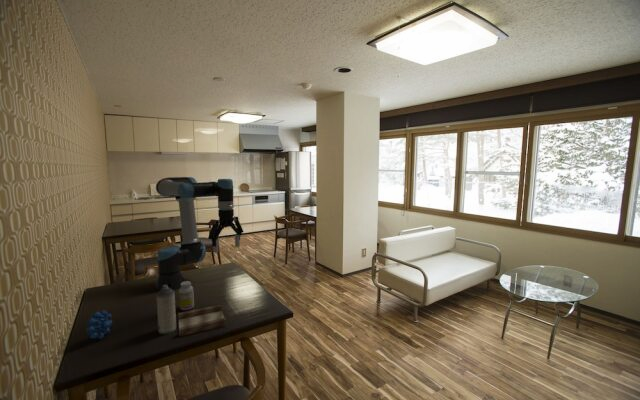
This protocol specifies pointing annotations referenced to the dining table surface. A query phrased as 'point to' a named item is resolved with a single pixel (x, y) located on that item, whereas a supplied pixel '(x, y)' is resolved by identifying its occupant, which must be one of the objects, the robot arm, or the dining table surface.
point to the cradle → (201, 320)
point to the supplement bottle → (186, 296)
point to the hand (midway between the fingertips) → (227, 249)
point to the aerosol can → (166, 310)
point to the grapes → (99, 324)
